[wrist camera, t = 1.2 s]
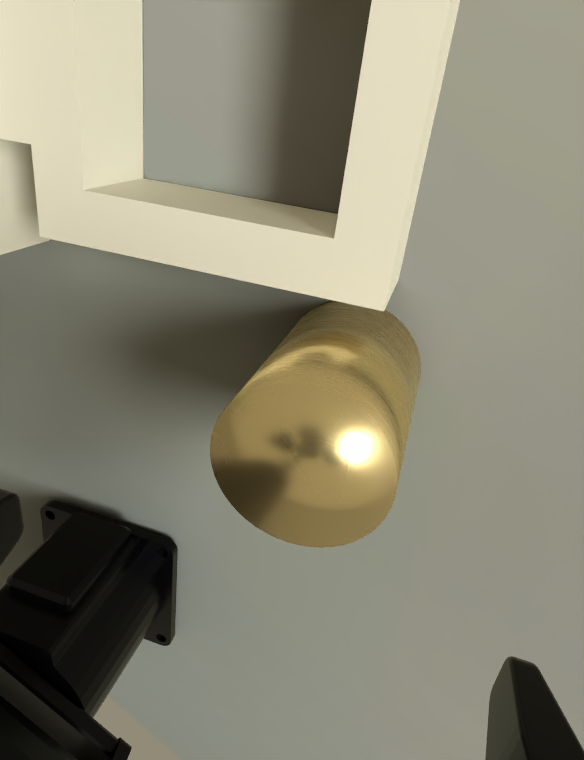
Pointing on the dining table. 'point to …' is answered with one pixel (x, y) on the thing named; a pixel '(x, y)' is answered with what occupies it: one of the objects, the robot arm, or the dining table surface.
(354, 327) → the brass cylinder
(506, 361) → the dining table surface
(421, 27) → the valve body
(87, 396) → the dining table surface
